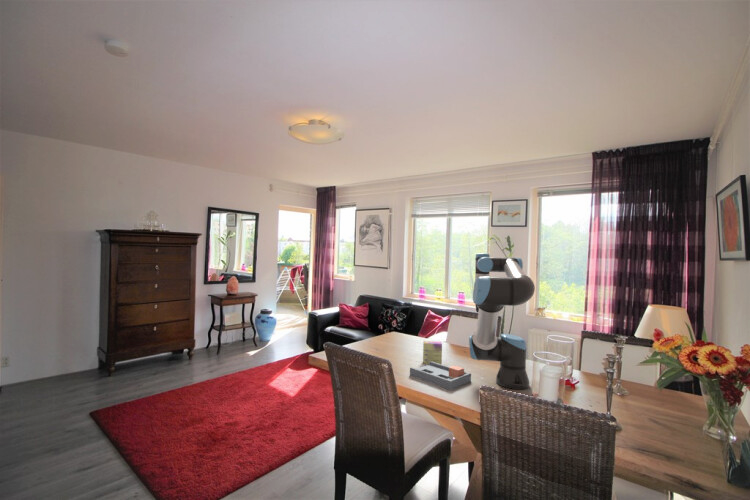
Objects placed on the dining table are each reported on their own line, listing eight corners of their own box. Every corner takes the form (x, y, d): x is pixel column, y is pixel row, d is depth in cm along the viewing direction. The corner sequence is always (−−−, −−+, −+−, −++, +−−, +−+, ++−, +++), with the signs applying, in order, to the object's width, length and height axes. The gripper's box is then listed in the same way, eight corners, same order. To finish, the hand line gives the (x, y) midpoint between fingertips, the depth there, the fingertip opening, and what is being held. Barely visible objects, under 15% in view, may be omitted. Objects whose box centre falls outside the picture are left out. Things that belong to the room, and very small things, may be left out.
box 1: (440, 361, 206) (441, 341, 206) (441, 364, 201) (442, 343, 201) (422, 360, 207) (423, 340, 208) (423, 363, 202) (423, 343, 202)
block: (464, 376, 175) (464, 368, 175) (458, 378, 172) (458, 370, 172) (454, 373, 179) (454, 365, 179) (448, 375, 176) (448, 367, 176)
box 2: (470, 381, 175) (470, 373, 175) (450, 390, 164) (450, 381, 164) (430, 368, 194) (430, 361, 194) (409, 375, 182) (409, 367, 182)
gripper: (482, 280, 202) (481, 321, 202) (469, 281, 193) (468, 324, 193) (494, 281, 197) (493, 324, 196) (482, 282, 188) (481, 327, 188)
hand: (481, 324), depth 195 cm, fingers closed
